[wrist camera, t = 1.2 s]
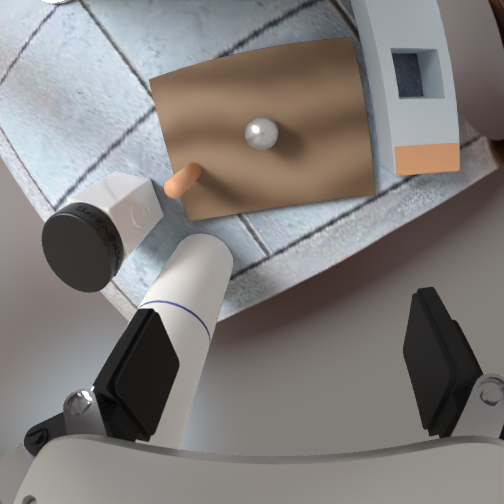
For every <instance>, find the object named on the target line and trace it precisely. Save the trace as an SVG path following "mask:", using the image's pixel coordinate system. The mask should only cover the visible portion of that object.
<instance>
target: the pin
mask: <svg viewBox="0 0 504 504" xmlns="http://www.w3.org/2000/svg"><path fill="white" fill-rule="evenodd" d="M201 174H202V168H201V166H200V165H199V164H198V163H195V162H192V163H189V164H188V165H186V166H185V167H184V168H182V169H181V170H180V171H179V172H177V173H176V174H175V175H174V176H172V177H171V178H170V179H169V180H167V181H166V183H165V185H164V191H165V193H166V194H167V196H169V197H170V198H174V199H176V198H179V197H181V196H182V195H183V194H184V193H185V192H186V190H187V189H188V188H189V187H190V186H191V185H192V184H193V183H194V182H195V181H196V180H197V179H198V178H199V177H200V176H201Z"/></svg>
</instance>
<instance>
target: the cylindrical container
mask: <svg viewBox="0 0 504 504" xmlns="http://www.w3.org/2000/svg"><path fill="white" fill-rule="evenodd" d="M232 270H233V257H232V254H231V252H230V250H229V248H228V247H227V246H226V244H224V243H223V242H222V241H221V240H220V239H218V238H216V237H214V236H212V235H208V234H201V233H197V234H192V235H189V236H187V237H186V238H184V239H183V240H182V241H181V242H180V243H179V244H178V246H177V247H176V249H175V251H174V252H173V254H172V255H171V257H170V258H169V260H168V261H167V263H166V264H165V266H164V267H163V269H162V271H161V272H160V274H159V275H158V277H157V278H156V280H155V282H154V283H153V285H152V286H151V288H150V289H149V291H148V293H147V294H146V296H145V297H144V299H143V301H142V302H141V304H140V306H139V307H138V309H140V308H152V309H154V310H155V312H158V313H159V315H160V317H161V320H162V322H163V324H164V327H165V329H166V331H167V334H168V336H169V338H170V341H171V343H172V345H173V347H174V350H175V352H176V354H177V356H178V358H179V362H180V367H179V370H178V373H177V375H176V378H175V381H174V384H173V386H172V389H171V392H170V394H169V397H168V400H167V402H166V405H165V408H164V411H163V413H162V416H161V419H160V422H159V424H158V427H157V430H156V433H155V434H154V435H153V436H151V438H150V440H149V442H145V441H140V440H137V439H136V441H135V442H136V443H142V444H147V445H153V446H159V447H165V448H172V449H179V448H180V444H181V441H182V437H183V434H184V430H185V427H186V423H187V420H188V416H189V413H190V409H191V406H192V402H193V399H194V396H195V392H196V389H197V386H198V382H199V379H200V375H201V372H202V369H203V365H204V362H205V359H206V355H207V352H208V349H209V345H210V342H211V339H212V335H213V332H214V329H215V325H216V322H217V319H218V315H219V312H220V309H221V305H222V302H223V299H224V296H225V292H226V289H227V286H228V283H229V279H230V276H231V273H232ZM138 309H137V310H138ZM137 310H136V311H137ZM135 313H136V312H135ZM133 316H134V315H133ZM132 318H133V317H132ZM130 321H131V320H130ZM127 326H128V325H127ZM124 331H125V330H124ZM93 389H94V386H93V387H92V389H91V391H93Z"/></svg>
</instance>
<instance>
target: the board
mask: <svg viewBox="0 0 504 504" xmlns="http://www.w3.org/2000/svg"><path fill="white" fill-rule="evenodd" d="M149 82H150V86H151V90H152V94H153V98H154V102H155V106H156V110H157V114H158V118H159V122H160V126H161V129H162V133H163V137H164V141H165V144H166V148H167V152H168V155H169V159H170V162H171V166H172V169H173V173H174V175H175V174H176V173H177V172H179V171H180V170H181V169H182V168H184V167H185V166H186V165H188V164H189V163H192V162H195V163H198V164H199V165H200V166H201V168H202V174H201V176H200V177H199V178H198V179H197V180H196V181H195V182H194V183H193V184H192V185H191V186H190V187H189V188H188V189H187V190H186V192H185V193H184V194H183V195H182V196H181V200H182V204H183V207H184V210H185V214H186V217H187V220H188V222H191V221H196V220H202V219H208V218H214V217H220V216H226V215H232V214H238V213H244V212H251V211H257V210H264V209H270V208H277V207H284V206H291V205H298V204H305V203H312V202H319V201H327V200H334V199H342V198H350V197H358V196H366V195H374V194H375V186H374V174H373V163H372V153H371V144H370V136H369V128H368V121H367V114H366V107H365V101H364V95H363V89H362V83H361V78H360V72H359V67H358V62H357V57H356V53H355V48H354V44H353V39H352V38H337V39H326V40H316V41H307V42H299V43H292V44H286V45H279V46H273V47H268V48H262V49H257V50H252V51H247V52H243V53H238V54H234V55H229V56H225V57H221V58H217V59H213V60H210V61H206V62H202V63H199V64H195V65H192V66H188V67H185V68H182V69H179V70H176V71H172V72H169V73H166V74H163V75H161V76H158V77H155V78H152V79H149ZM260 116H267V117H270V118H272V119H273V120H274V121H275V122H276V123H277V125H278V128H279V133H278V137H277V140H276V142H275V144H274V145H273V146H272V147H270V148H268V149H265V150H258V149H255V148H253V147H251V146H250V145H249V144H248V142H247V140H246V138H245V130H246V127H247V126H248V124H249V123H250V122H251V121H253V120H254V119H255V118H257V117H260Z"/></svg>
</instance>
